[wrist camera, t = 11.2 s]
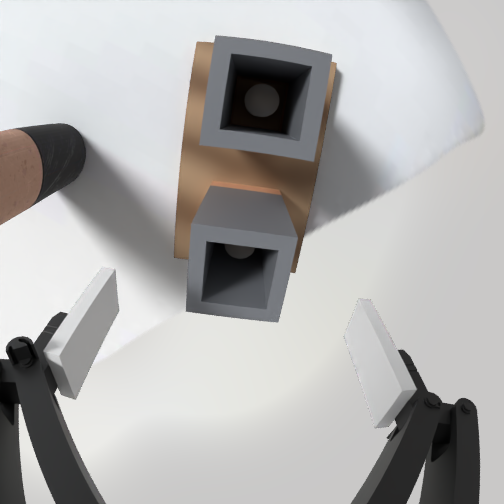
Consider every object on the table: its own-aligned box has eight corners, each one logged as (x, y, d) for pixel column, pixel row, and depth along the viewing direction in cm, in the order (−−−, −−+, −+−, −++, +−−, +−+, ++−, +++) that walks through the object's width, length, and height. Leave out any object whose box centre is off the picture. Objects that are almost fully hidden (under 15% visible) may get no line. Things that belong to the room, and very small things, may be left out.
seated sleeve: (228, 66, 25) (215, 35, 14) (298, 77, 25) (332, 54, 14) (218, 132, 27) (199, 145, 16) (287, 142, 28) (313, 161, 17)
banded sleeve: (212, 180, 29) (191, 223, 18) (279, 189, 30) (297, 237, 19) (206, 242, 32) (185, 311, 21) (268, 250, 32) (278, 322, 21)
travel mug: (99, 142, 28) (-47, 197, 10) (70, 200, 31) (-54, 290, 13) (53, 108, 26) (-94, 136, 8) (27, 165, 29) (-102, 228, 10)
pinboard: (198, 44, 24) (181, 21, 17) (333, 64, 25) (361, 50, 18) (176, 252, 34) (157, 293, 26) (293, 267, 35) (305, 311, 27)
